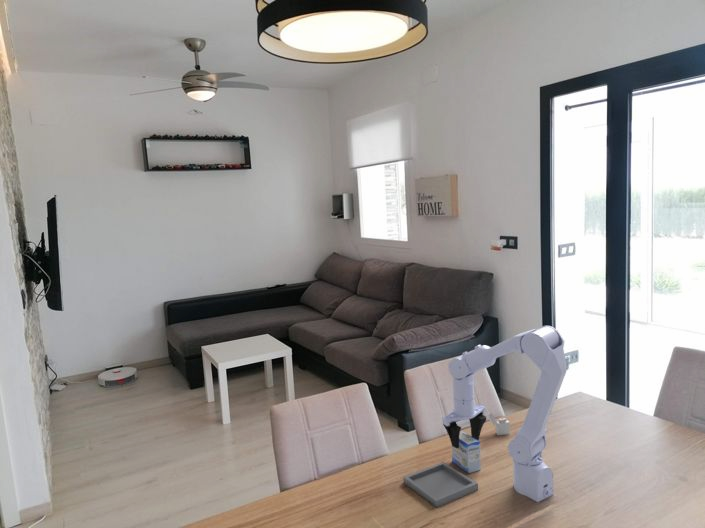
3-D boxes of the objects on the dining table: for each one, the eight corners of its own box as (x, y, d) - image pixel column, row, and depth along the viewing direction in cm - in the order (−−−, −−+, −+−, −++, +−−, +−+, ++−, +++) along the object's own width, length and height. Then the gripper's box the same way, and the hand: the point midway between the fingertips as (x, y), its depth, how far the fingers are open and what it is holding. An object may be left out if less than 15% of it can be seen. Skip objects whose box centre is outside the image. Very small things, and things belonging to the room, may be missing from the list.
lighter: (507, 432, 163) (507, 409, 163) (510, 434, 162) (509, 411, 161) (487, 435, 162) (486, 411, 162) (489, 437, 161) (488, 413, 160)
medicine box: (451, 462, 147) (450, 433, 146) (464, 458, 149) (463, 430, 148) (468, 474, 140) (467, 444, 139) (481, 469, 141) (480, 440, 141)
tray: (478, 489, 132) (477, 483, 131) (436, 507, 125) (436, 501, 125) (443, 467, 144) (443, 461, 144) (403, 483, 137) (403, 476, 137)
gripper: (473, 387, 149) (474, 431, 150) (434, 399, 142) (436, 444, 143) (490, 394, 143) (491, 440, 144) (451, 406, 136) (453, 454, 137)
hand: (465, 443), depth 143 cm, fingers open, 7 cm apart
